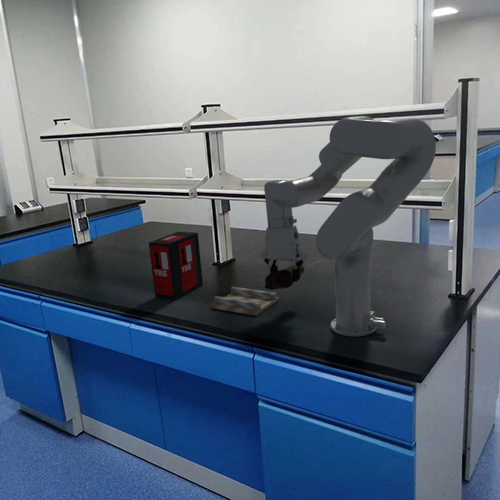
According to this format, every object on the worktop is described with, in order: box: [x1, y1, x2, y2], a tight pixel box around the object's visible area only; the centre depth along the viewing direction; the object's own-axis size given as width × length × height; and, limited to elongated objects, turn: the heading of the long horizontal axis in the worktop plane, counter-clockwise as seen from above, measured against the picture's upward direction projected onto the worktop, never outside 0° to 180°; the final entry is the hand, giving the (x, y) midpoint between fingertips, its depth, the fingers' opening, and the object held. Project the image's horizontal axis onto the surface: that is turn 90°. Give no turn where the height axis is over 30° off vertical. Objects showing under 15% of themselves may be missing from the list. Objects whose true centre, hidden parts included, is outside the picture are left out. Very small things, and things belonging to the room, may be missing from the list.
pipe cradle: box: [211, 286, 280, 317], centre depth 165 cm, size 17×14×3 cm
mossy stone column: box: [264, 264, 305, 291], centre depth 154 cm, size 18×7×6 cm, turn 146°
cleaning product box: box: [148, 231, 204, 301], centre depth 180 cm, size 16×9×20 cm, turn 151°
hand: (285, 279), depth 154 cm, fingers closed on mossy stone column, 6 cm apart
